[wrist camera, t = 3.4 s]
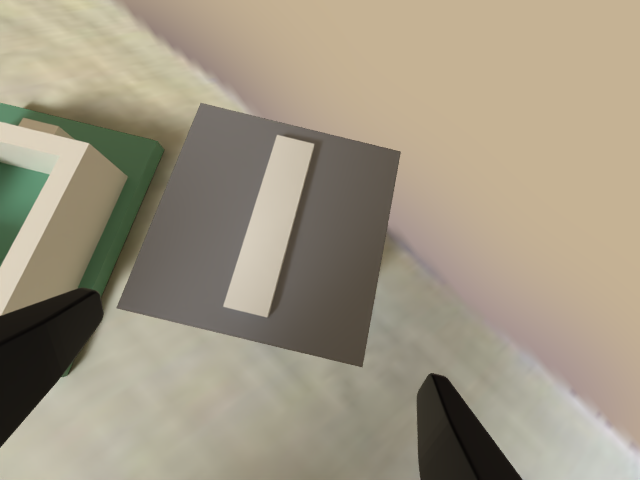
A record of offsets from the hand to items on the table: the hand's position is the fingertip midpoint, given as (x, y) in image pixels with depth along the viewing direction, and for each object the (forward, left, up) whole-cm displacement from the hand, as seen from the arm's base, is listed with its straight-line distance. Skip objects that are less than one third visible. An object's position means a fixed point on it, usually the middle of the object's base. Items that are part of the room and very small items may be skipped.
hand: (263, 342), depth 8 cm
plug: (+2, -1, -10) cm, 10 cm away
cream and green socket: (+10, +12, -10) cm, 18 cm away
